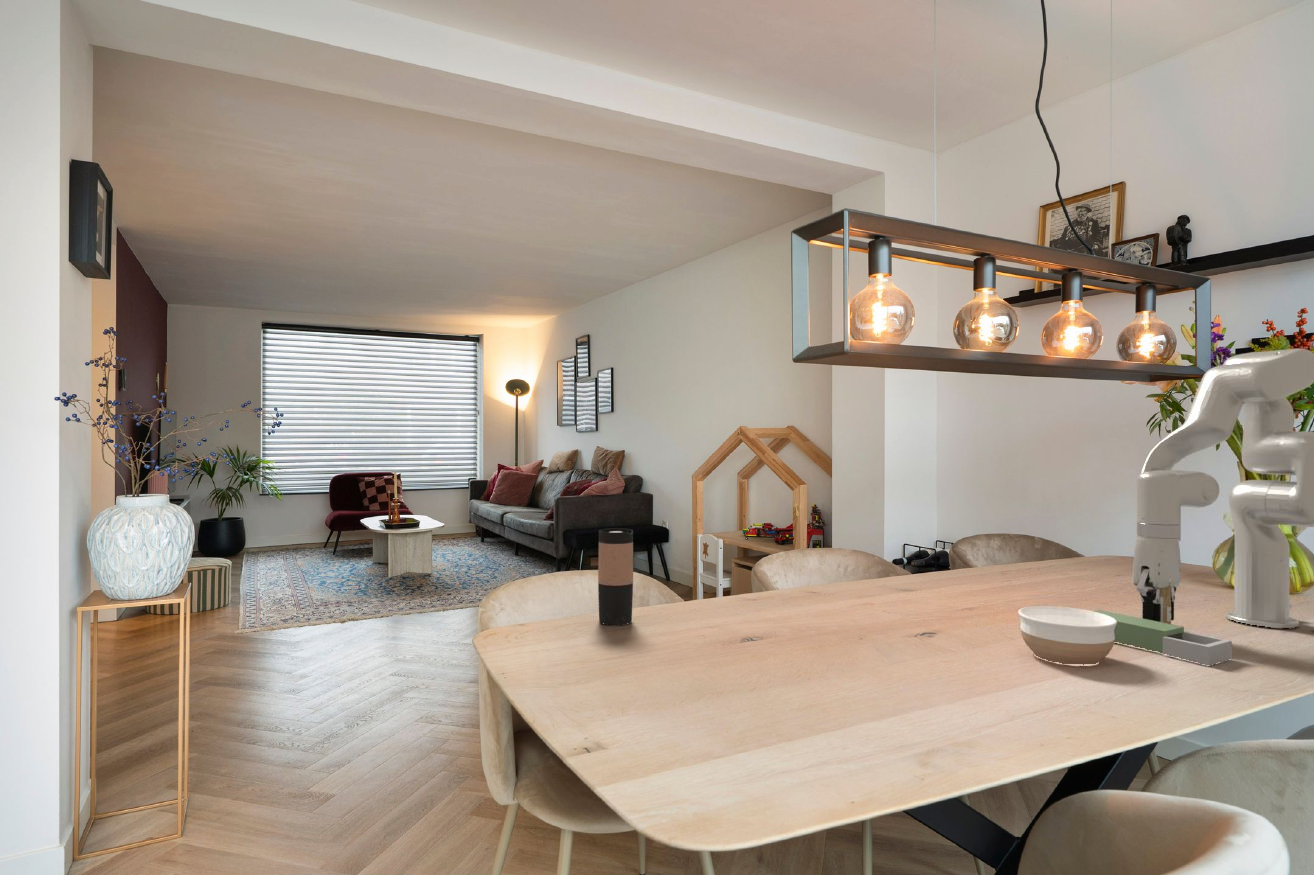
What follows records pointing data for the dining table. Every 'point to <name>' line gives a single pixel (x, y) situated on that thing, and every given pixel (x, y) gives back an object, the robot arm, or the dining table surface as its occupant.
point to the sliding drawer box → (1170, 639)
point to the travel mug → (615, 576)
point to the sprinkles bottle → (1164, 602)
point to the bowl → (1067, 634)
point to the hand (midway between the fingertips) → (1158, 619)
